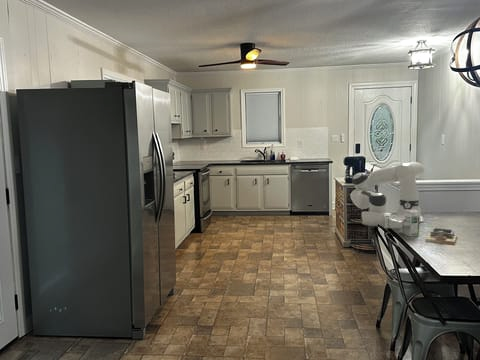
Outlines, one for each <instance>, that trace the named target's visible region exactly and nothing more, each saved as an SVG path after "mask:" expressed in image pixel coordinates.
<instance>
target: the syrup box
mask: <svg viewBox="0 0 480 360" xmlns="http://www.w3.org/2000/svg"><path fill="white" fill-rule="evenodd" d="M404 222H412V226H403V227H404V228H403V229H404V230H403V231H404V235H405V236H408V237H419V236H420V222H419V211H417V210H405V221H404Z"/></svg>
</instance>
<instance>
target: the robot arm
mask: <svg viewBox="0 0 480 360" xmlns="http://www.w3.org/2000/svg"><path fill="white" fill-rule="evenodd" d="M424 173H425V167H424V165H423V164H422V163H421V162H417V161H410V162H402V163H401V164H397V165H391V166H388V167H382V168H380V169H376V170H374V171H372V172H370V173H368V172H357V173H355V174H354V175H353V176H352V178H351V182H352V184H353V186H354V188H355V189H354V190H352V191H351V193H350V199H351V201H352V203H353V204H354V205H355V206H356V207H357V208H358V209H361V210H366V209H368V208H369V210H368V211H362V212H361V213H360V222H361V225H364V226H370V227H380V226H382V227H381V228H384V229H402V228H403V227H404V226H412V222H404V221H405V210H417V211H419V223H424V222H425V221H424V218H423V216H422V215H423V214H421V211H422V209H421V208H420V206H419V204H420V201H419V187H418V185H417V181H416V179H418V178H420V177H421V176H422V175H424ZM394 183H399V188H400V189H399V190H400V193H399V194H400V195H399V196H400V197H399V203H398V204H399V205H398V206H397V207H396V214H393V212H387V205H386V204H387V197H386V195H385V194H384V193H380V192H377V190H376V188H375V186H383V185H388V184H394ZM378 224H379V225H380V226H378Z"/></svg>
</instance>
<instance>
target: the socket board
mask: <svg viewBox="0 0 480 360" xmlns="http://www.w3.org/2000/svg"><path fill="white" fill-rule="evenodd" d="M457 239H458V234H456V233H455V229H451V228H450V229H449V228H441V227H432V229H431V230H430V231H429V233H428V234H427V236H426V237H425V242H429V243H437V244H444V245H445V244H446V245H455V243H456V241H457Z"/></svg>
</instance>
